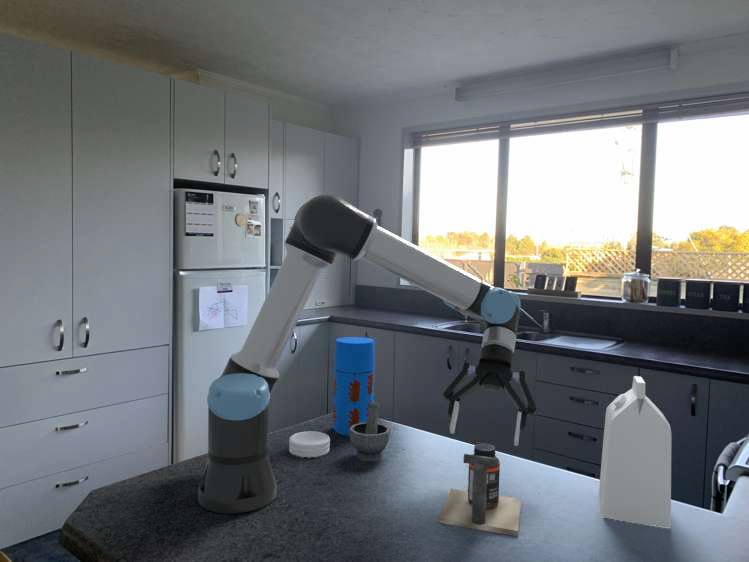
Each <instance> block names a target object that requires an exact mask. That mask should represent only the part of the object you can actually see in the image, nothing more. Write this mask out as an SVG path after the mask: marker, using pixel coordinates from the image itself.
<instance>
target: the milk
mask: <svg viewBox="0 0 749 562" xmlns="http://www.w3.org/2000/svg"><path fill="white" fill-rule="evenodd" d="M604 419H605V420H604V431H603V441H602V452H601V461H600V462H601V464H600V465H601V466H600V477H599V487H598V495H599V496H598V497H599V503H600V502H601V503H600V508H601V513H602V515H603V516H602V519H604V518H609V519H608V520H610V519H615V520H614V521H616V520H621V521H620V522H622V521H630V522H635V523H640V524H648V525H656V526H662V527H670V528H672V527H671V525H672V524H671V523H672V522H671V521H672V518H671V517H672V516H671V515H672V514H671V513H672V429H671V424H670V423H669V421H668V420H667V418H666V416H665V415H664V413H663V412H662V411H661V410H660V409H659V408H658V407H657V406H656V404H655V403H653V401H652V400H651V399H650V398H649V397H647V395H646V382H645V380H644V379H643V377H642V376H638V375H634V376H633V378H632V385H631V388H630V389H629V390H627V391H626V392H625V393H621V394H619V395H617V397H615V398H614V400H613V401H612V402H610V404H609V405H608V406H607V407H606V410H605V418H604ZM640 524H639V525H640Z"/></svg>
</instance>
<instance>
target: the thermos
mask: <svg viewBox="0 0 749 562" xmlns="http://www.w3.org/2000/svg"><path fill="white" fill-rule="evenodd" d="M334 345H335V347H334V348H335V349H334V383H333V384H334V387H333V389H334V390H333V392H334V393H333V396H334V397H333V431H334V430H335V431H336V432H337V433H339V434H342V435H341V436H343V435H348V436H347V437H350V435H349V433H350V428H351V426H352V425H355V424H359V423H367V419H368V413H369V404H370V403H374V402H375V401H374V397H375V395H374V394H375V393H374V391H375V362H376V361H375V356H376V355H375V354H376V344H375V340H374V339H372V338H369V337H360V336H348V337H340V338H336V340H335V344H334ZM335 431H334V432H335ZM336 432H335V433H336ZM337 433H336V434H337ZM339 434H338V435H339Z"/></svg>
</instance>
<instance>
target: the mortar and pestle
mask: <svg viewBox="0 0 749 562" xmlns="http://www.w3.org/2000/svg"><path fill="white" fill-rule="evenodd" d="M380 407H381V405H380V404H379V403H377V402H373V403H370V404H369V413H368V419H367V423H359V424H355V425H352V426H351V428H350V433H349V435H350V436H349V440H350V443H351V445H352V447H353V448H354V449H356V451H357V452H356V458H357V459H358V460H359V461H362V462H366V461H367V462H366V463H368V461H374V462H377V460H378V461H380V459H381V460H382V457H383V451H384V450H385V449H386V447H387V445H388V443H389V441H390V436H391V427H389V426H387V425H386V424H383V423H379V409H380Z"/></svg>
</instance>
